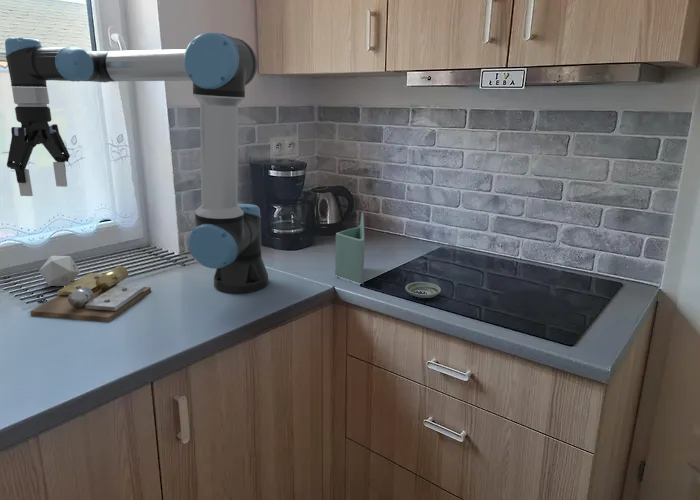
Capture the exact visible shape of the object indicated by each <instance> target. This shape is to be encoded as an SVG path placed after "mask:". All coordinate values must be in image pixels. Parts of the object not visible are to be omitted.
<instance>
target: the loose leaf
mask: <svg viewBox="0 0 700 500" xmlns="http://www.w3.org/2000/svg"><path fill="white" fill-rule="evenodd" d="M128 277H129V271H128V270H127V268H126V267H125V266H123V265H118V266H116V267H114V268H112V269H111V270H109V271H107V272H106V273H93V272H89V273H88V274H85V275H84V276H82V277H81V278H79V279H77V280H76V279H75V280H74V281H73V282H72V283H71V284H69V285H67V286H65V287H61V288H60V289H58V290H57V296H58V295H69V294H71V293H72V292H74V291H76V290H78V289H79V288H81V287H88V288H90V289H91V290H92V292H94V291H96V290H97V289H99V290H101V291H107V290H109V289H110V288H112V287H113V286H115V285H119V284H120V283H122V282H123V281H125V280H126V279H127V278H128Z"/></svg>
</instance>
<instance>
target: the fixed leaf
mask: <svg viewBox="0 0 700 500" xmlns="http://www.w3.org/2000/svg"><path fill="white" fill-rule="evenodd" d="M144 287H145V286H143V285H127V284H117V285H116V286H114V287H113V288H111V289H109V290H108V291H106V292H105V293H103V294H102V295H100V296H98V297H97V298H95V299H94V300H92V299H93V292H92V290H91V289H90V288H88V287H81V288H79V289H78V290H76V291H74V292H72V293H71V294H69V296H68V301H69V303H70V305H71V306H73V307H75V308H80V307H82V306H83V305H85V304H86V303H87V304H86V305H85V307H86V309H97V310H109V311H116V310H117V309H119V308H120V307H122V306H123V305H124V304H126V303H127V302H129V301H130V300H131V299H133V298H134V297H136V296H137V295H138V294H140V293H141V292H143V291H144ZM91 300H92V301H91ZM88 302H89V303H88Z"/></svg>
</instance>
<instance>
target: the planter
mask: <svg viewBox="0 0 700 500" xmlns="http://www.w3.org/2000/svg"><path fill="white" fill-rule="evenodd" d="M364 218H365V217H364V212H361V216H360V221H359V225H358V226H357V227H352V228H348V229H345V230H342V231H339V232H336V233H335V255H334V257H335V258H334V259H335V261H334V262H335V263H334V265H335V267H334V268H335V269H334V276H335V275H337V276H340V277H343V278H346V279H349V280H352V281H355V282H358V283H361V284H363V285H364V268H365V246H366V245H365V219H364Z"/></svg>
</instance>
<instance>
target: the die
mask: <svg viewBox="0 0 700 500" xmlns="http://www.w3.org/2000/svg"><path fill="white" fill-rule="evenodd" d="M38 272H39V273H40V275H41V276H42V278H43V279H44V282H46V284H47V285H48V287H49V286H67V285H69V284H71V283H73V282H75V281H76V278H77V277H78V276H79V275H80V273H81V270H80V269H79V267H78V266H77V264H76V261H74V259H73V258H72V256H71V255H50V257H48V259H47V260H46V261H45V263H44V264H42V266H41V268H40V269H39V270H38Z"/></svg>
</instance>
